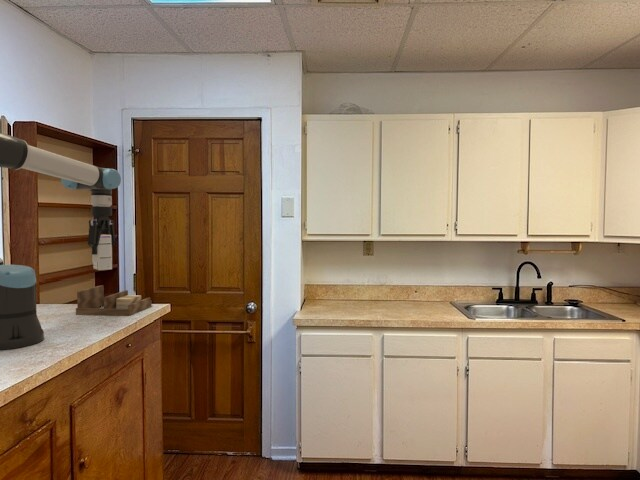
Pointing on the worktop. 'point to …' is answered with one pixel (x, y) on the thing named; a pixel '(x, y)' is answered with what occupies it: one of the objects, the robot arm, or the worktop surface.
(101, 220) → the robot arm
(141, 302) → the walnut rack
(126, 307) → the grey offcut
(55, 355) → the worktop surface
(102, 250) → the syrup box
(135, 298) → the birch offcut
